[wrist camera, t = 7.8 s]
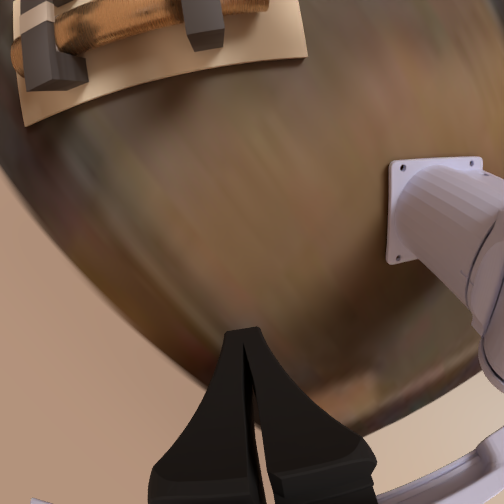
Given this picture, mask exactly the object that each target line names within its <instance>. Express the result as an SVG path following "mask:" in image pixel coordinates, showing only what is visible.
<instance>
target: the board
mask: <svg viewBox="0 0 504 504" xmlns="http://www.w3.org/2000/svg"><path fill="white" fill-rule="evenodd" d="M90 1H92V0H16V1H14V2H13V31H14V40H15V39H16V38H17V37H19V36H20V35H21V45H22V58H23V68H24V77H25V78H23V77H21V76H20V75H19V74H18V73H17V72H16V73H17V82H18V89H19V96H20V103H21V109H22V114H23V120H24V125H25V127H27V126H31V125H33V124H35V123H37V122H39V121H41V120H43V119H46V118H48V117H50V116H53V115H55V114H57V113H60V112H62V111H64V110H67V109H69V108H72V107H74V106H77V105H80V104H82V103H85V102H88V101H90V100H93V99H96V98H99V97H102V96H105V95H108V94H111V93H114V92H117V91H120V90H123V89H127V88H130V87H133V86H137V85H140V84H144V83H148V82H151V81H155V80H159V79H163V78H167V77H172V76H176V75H180V74H185V73H190V72H195V71H200V70H205V69H211V68H217V67H223V66H229V65H236V64H243V63H251V62H260V61H270V60H282V59H297V58H306V57H308V54H307V48H306V41H305V35H304V30H303V24H302V18H301V13H300V8H299V3H298V0H269V8H268V11H266V12H254V13H244V14H235V15H227V16H223V14H222V8H221V2H220V0H181V3H182V9H183V16H184V22H185V23H181V24H176V25H172V26H167V27H163V28H159V29H155V30H151V31H148V32H144V33H141V34H137V35H134V36H130V37H127V38H124V39H121V40H118V41H115V42H112V43H109V44H106V45H103V46H101V47H98V48H95V49H93V50H90V51H87V52H85V53H82V54H80V55H77V56H74V55H70V54H66V53H62V52H58V51H56V43H55V31H54V23H55V16H57V15H60V14H62V13H64V12H66V11H68V10H71V9H73V8H75V7H78V6H80V5H82V4H85V3H87V2H90Z"/></svg>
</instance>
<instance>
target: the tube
mask: <svg viewBox="0 0 504 504" xmlns="http://www.w3.org/2000/svg"><path fill="white" fill-rule="evenodd" d="M220 2H221V8H222V14H223V16H227V15H235V14H244V13H254V12H266V11H268V8H269V0H220ZM181 23H185V22H184V16H183V9H182V3H181V0H92V1H90V2H87V3H85V4H82V5H80V6H78V7H75V8H73V9H71V10H68V11H66V12H64V13H62V14H60V15H57V16H55V23H54V31H55V43H56V51H58V52H62V53H66V54H70V55H74V56H77V55H80V54H82V53H85V52H87V51H90V50H93V49H95V48H98V47H101V46H103V45H106V44H109V43H112V42H115V41H118V40H121V39H124V38H127V37H130V36H134V35H137V34H141V33H144V32H148V31H151V30H155V29H159V28H163V27H167V26H172V25H176V24H181ZM11 60H12V64H13V67H14V69H15V70H16V72H17V73H18V74H19V75H20V76H21V77H23V78H25V77H24V68H23V58H22V45H21V35H20V36H19V37H17V38H16V39H15V40H14V41H13V43H12V46H11Z"/></svg>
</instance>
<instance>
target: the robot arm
mask: <svg viewBox="0 0 504 504" xmlns="http://www.w3.org/2000/svg"><path fill="white" fill-rule="evenodd" d="M470 161H471V163H470ZM401 165H403V169H402V170H400V166H401ZM482 168H483V160H482V158H481V157H478V156H468V157H441V158H422V159H407V160H394V161H392V162H391V163H390V165H389V203H388V231H387V248H386V261H387V263H388V264H390V265H394V264H398V263H402V262H407V261H411V260H415V259H419V260H420V261H421V262H422V263H423V264H424V265H425V266H426V267H427V268H428V269H430V270H431V271H432V272H433V273H434V274H435V275H436V276H437V277H438V278H439V279H440V280H441V281H442V282H443V283H444V284H445V285H446V286H447V287H448V288H449V289H450V290H451V291H452V292H453V293H454V294H455V295H456V297H457V298H458V299H459V300H460V301H461V302H462V303H463V304H464V305H465V306H466V307H467V308H468V309H469V310H470V311H471V313H472V315H473V320H472V324H471V325H472V326H473V327H474V329H475V330H476V331H477V332H478V333H479V334H480V336H481V339H480V342H479V347H478V357H479V362H480V365H481V368H482V370H483V372H484V374H485V376H486V377H487V378H488V380H489V381H490V382H491V383H492V384H493V385H494V386H495V387H496V388H497V389H498V390H500V391H501V392H503V393H504V179H502V178H499V177H497V176H495V175H493V174H490V173H488V172H486V171H483V170H482ZM398 255H399V257H398V258H397V259H396V257H397V256H398ZM252 385H253V388H252ZM253 389H254V393H255V396H256V400H257V404H258V409H259V416H260V423H261V430H262V437H263V445H264V452H265V460H266V467H267V473H268V476H269V480H270V483H271V486H272V490H273V494H274V500H275V504H484V503H485V502H487V501H488V500H489V499H491V498H492V497H494V496H495V495H497V494H498V493H499V492H501V491H502V490H503V489H504V426H503V427H501V428H500V429H498V430H497V431H495V432H494V433H492V434H491V435H489V436H488V437H486V438H485V439H484V440H483V441H482V442H481V443H480V444H479V445H478V446H477V447H476V449H474V450H473V451H471V452H469V453H468V454H466V455H464V456H462V457H461V458H459V459H457V460H455V461H453V462H452V463H450V464H448V465H446V466H444V467H442V468H440V469H438V470H436V471H434V472H432V473H430V474H428V475H426V476H424V477H421V478H419V479H417V480H414V481H412V482H410V483H408V484H405V485H403V486H400V487H398V488H395V489H393V490H390V491H388V492H385V493H382V494H379V495H377V496H376V495H375V492H374V489H373V485H374V482H373V480H372V477H371V474H372V472H373V470H374V468H375V467H376V465H377V460H376V457H375V455H374V453H373V452H372V450H371V448H370V447H369V445H368V444H367V443H366V441H365V440H364V439H363V437H362V436H360V435H359V434H357V433H355V432H353V431H352V430H350V429H349V428H347V427H346V426H344V425H342V424H341V423H340V422H338V421H337V420H335V419H334V418H333V417H331V416H330V415H329V414H328V413H326V412H325V411H324V410H323V409H321V408H320V407H319V406H318V405H317V404H315V403H314V402H313V401H312V400H311V399H310V398H309V397H308V396H307V395H306V394H305V393H304V392H303V391H302V390H301V389H300V388H299V387H298V386H297V385H296V384H295V383H294V381H293V380H292V379H291V378H290V377H289V375H288V374H287V373H286V372H285V370H284V369H283V368H282V366H281V365H280V364H279V362H278V361H277V359H276V358H275V356H274V355H273V353H272V352H271V350H270V348H269V347H268V345H267V343H266V341H265V339H264V337H263V335H262V332H261V329H260V328H259V327H251V328H245V329H239V330H233V331H227V332H226V333H225V334H224V340H223V345H222V349H221V353H220V357H219V360H218V363H217V366H216V369H215V372H214V374H213V377H212V379H211V382H210V384H209V386H208V389H207V391H206V393H205V395H204V397H203V399H202V402H201V403H200V405H199V407H198V409H197V411H196V412H195V414H194V416H193V417H192V419H191V420H190V422H189V423H188V425H187V426H186V428H185V429H184V431H183V432H182V434H181V435H180V436H179V438H178V439H177V440H176V441H175V443H174V444H173V445H172V447H171V448H170V449H169V450H168V451H167V452H166V453H165V454H164V456H163V457H162V458H161V459H160V460H159V461H158V462H157V463H156V464H155V465H154V466H153V468H152V471H151V475H150V480H149V485H148V504H267V503H266V498H265V492H264V487H263V482H262V476H261V470H260V464H259V458H258V452H257V446H256V439H255V428H254V408H253ZM30 504H52V503H49V502H46V501H42V500H39V499H36V498H31V503H30Z"/></svg>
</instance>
